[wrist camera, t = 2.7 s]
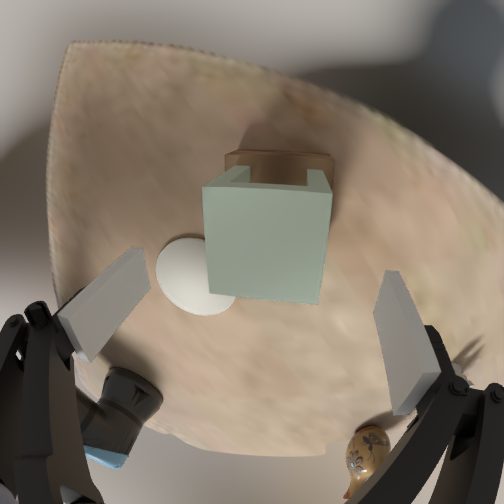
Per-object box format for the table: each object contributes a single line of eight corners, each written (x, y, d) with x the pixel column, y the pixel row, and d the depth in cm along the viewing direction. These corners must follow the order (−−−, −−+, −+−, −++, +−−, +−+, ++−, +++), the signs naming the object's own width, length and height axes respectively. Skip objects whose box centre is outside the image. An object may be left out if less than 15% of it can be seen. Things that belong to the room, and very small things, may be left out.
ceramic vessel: (372, 411, 45) (376, 518, 23) (402, 415, 45) (411, 512, 23) (332, 440, 53) (326, 528, 31) (361, 444, 53) (360, 526, 31)
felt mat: (165, 305, 41) (163, 308, 40) (152, 234, 36) (149, 236, 35) (240, 317, 39) (238, 320, 38) (238, 241, 34) (236, 243, 33)
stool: (236, 243, 28) (209, 293, 20) (235, 165, 25) (201, 186, 17) (315, 250, 27) (317, 304, 19) (322, 170, 23) (332, 193, 15)
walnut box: (238, 233, 33) (227, 251, 29) (237, 150, 29) (224, 154, 24) (321, 240, 32) (324, 259, 27) (329, 154, 27) (334, 160, 23)
